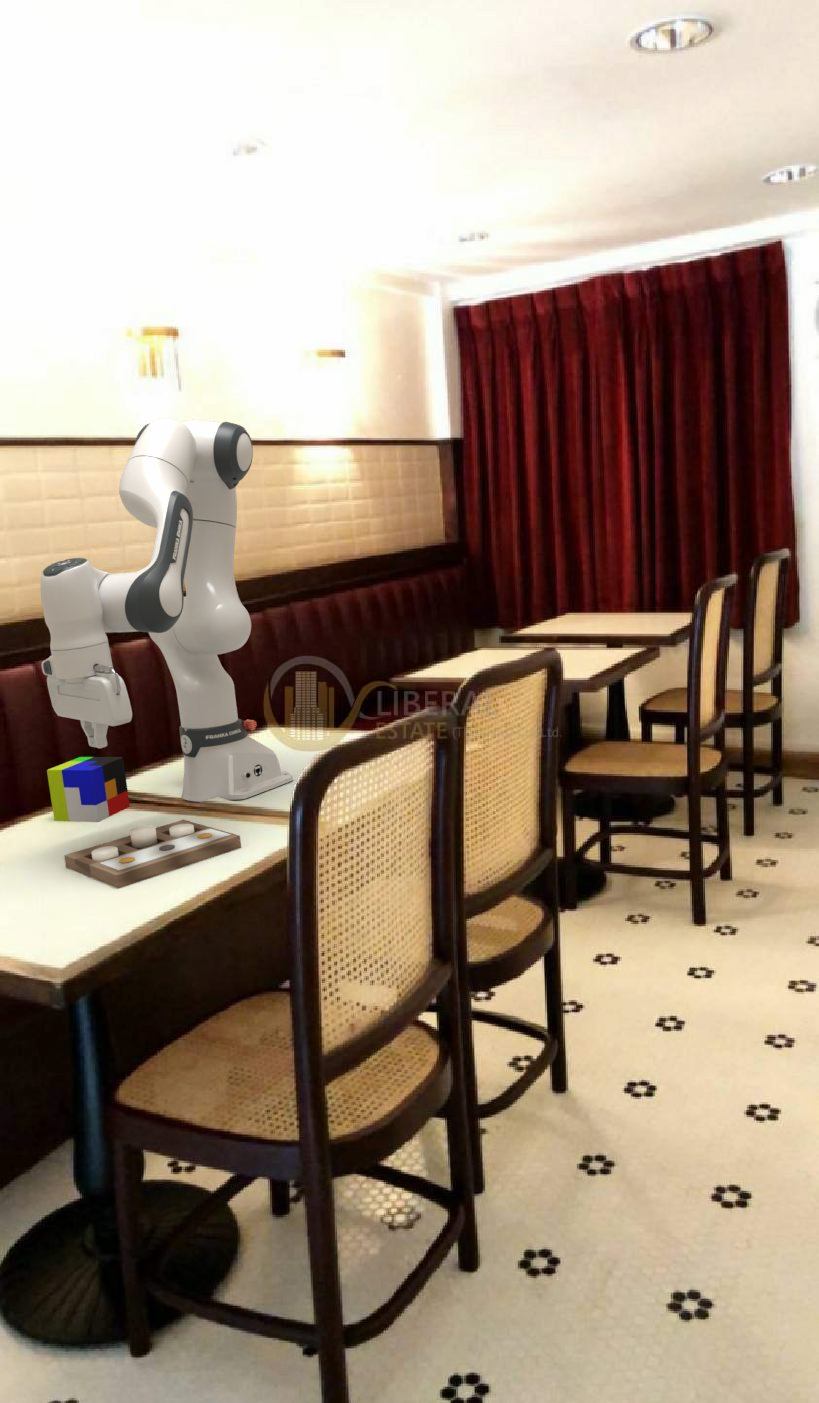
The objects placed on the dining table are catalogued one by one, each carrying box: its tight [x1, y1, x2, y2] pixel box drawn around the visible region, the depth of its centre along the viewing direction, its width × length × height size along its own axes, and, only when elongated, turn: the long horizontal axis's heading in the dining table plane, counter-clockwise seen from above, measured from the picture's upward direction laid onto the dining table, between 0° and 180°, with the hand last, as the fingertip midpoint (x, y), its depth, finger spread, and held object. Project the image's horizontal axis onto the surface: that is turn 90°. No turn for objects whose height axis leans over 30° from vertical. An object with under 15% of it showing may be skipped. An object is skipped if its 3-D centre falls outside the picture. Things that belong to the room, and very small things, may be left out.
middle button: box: [129, 825, 157, 848], centre depth 176 cm, size 4×4×2 cm
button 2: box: [169, 824, 194, 838], centre depth 181 cm, size 4×4×2 cm
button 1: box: [91, 846, 119, 862], centre depth 171 cm, size 4×4×2 cm
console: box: [63, 819, 242, 889], centre depth 174 cm, size 22×17×4 cm
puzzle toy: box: [46, 756, 131, 823], centre depth 208 cm, size 10×10×10 cm
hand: (98, 746), depth 175 cm, fingers closed
